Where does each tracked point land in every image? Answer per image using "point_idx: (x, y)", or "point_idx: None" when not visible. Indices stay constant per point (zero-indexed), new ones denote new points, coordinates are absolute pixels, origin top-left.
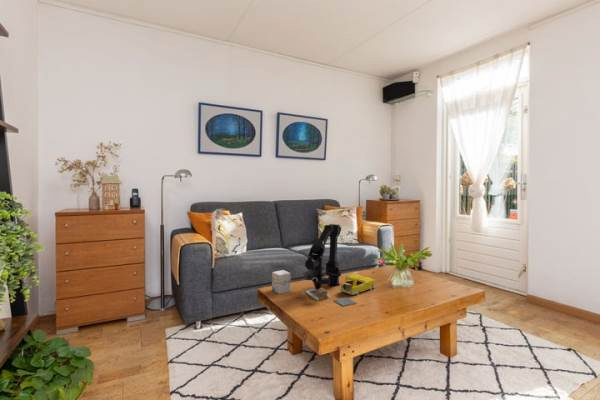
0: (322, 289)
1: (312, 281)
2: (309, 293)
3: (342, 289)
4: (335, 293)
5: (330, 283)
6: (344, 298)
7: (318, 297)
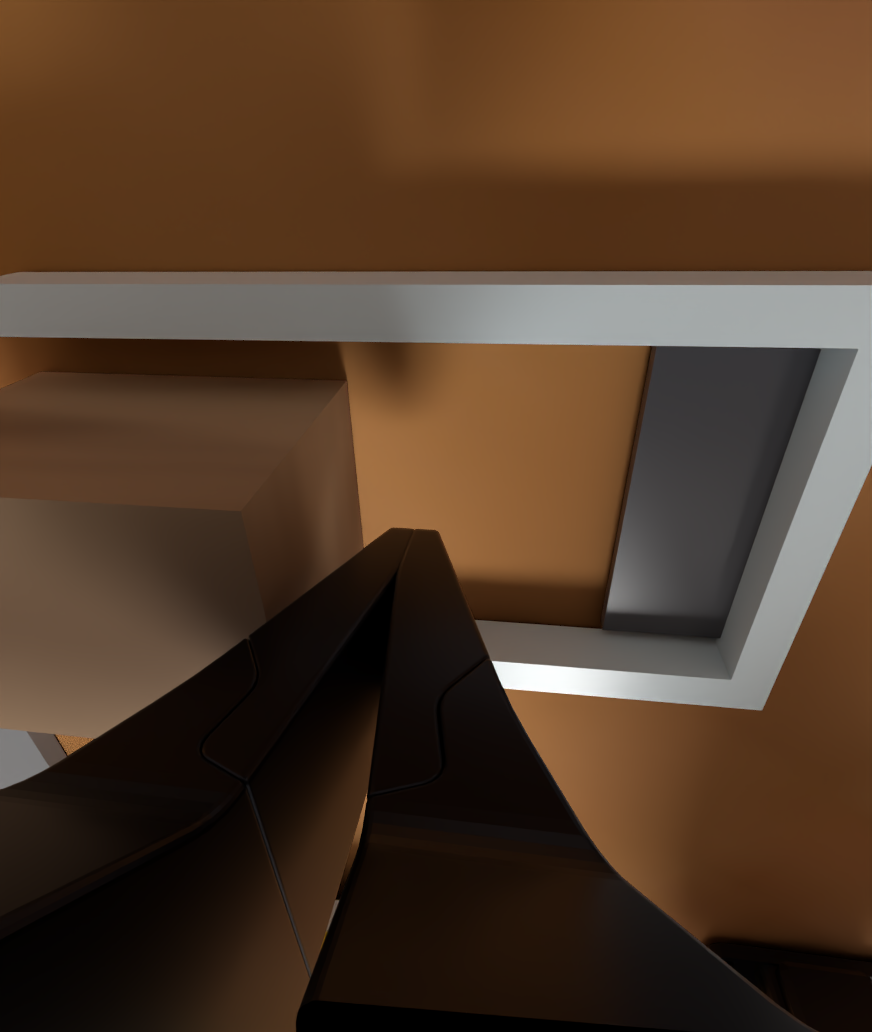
0: (122, 693)
1: (654, 913)
2: (574, 281)
3: (323, 942)
4: (363, 806)
5: (784, 996)
6: (24, 768)
7: (137, 386)
